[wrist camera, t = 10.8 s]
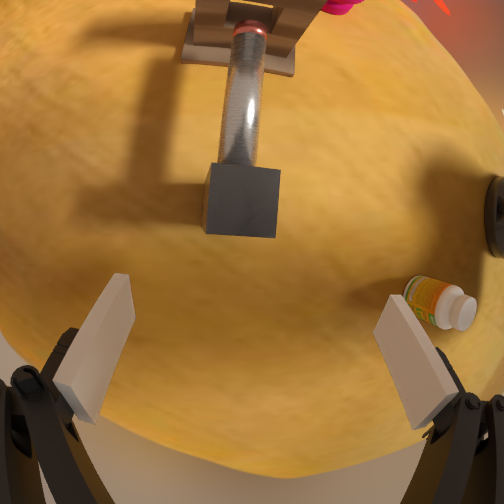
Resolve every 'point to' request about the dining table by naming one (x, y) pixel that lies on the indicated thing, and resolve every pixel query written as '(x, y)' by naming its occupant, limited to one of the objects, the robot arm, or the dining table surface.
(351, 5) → the pepper mill
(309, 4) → the wooden arch frame
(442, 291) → the supplement bottle
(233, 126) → the metal rod with plate
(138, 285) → the dining table surface
